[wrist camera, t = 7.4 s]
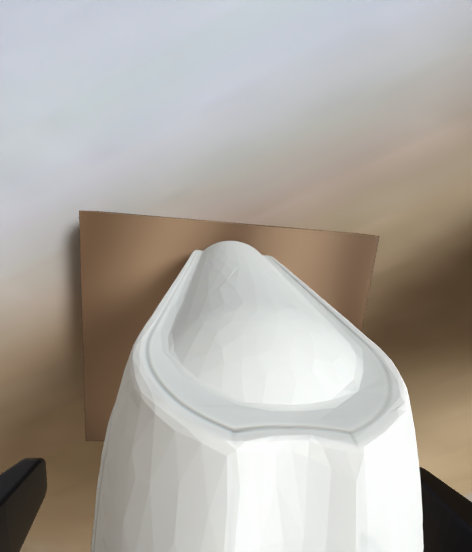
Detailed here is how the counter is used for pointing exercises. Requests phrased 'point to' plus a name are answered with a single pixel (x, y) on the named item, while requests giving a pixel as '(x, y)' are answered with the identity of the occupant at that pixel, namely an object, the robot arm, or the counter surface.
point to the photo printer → (256, 424)
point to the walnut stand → (166, 267)
